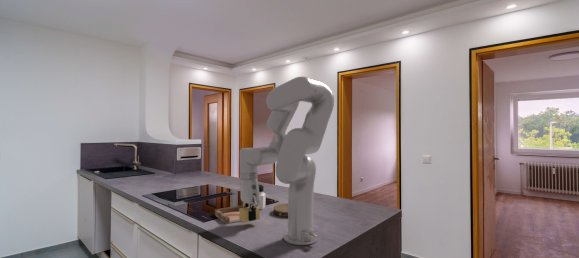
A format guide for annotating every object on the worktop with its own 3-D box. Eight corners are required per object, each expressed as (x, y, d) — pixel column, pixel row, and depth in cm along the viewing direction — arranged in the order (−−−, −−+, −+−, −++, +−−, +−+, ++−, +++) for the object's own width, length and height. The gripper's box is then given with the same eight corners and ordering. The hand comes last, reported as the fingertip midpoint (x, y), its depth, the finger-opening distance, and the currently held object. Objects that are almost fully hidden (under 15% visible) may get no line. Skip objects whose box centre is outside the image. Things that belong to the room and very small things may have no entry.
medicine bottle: (265, 206, 149) (265, 183, 149) (262, 209, 142) (263, 186, 142) (252, 205, 150) (252, 183, 150) (249, 209, 142) (249, 186, 143)
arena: (257, 218, 128) (257, 212, 128) (226, 224, 119) (226, 218, 119) (242, 209, 141) (242, 205, 141) (214, 214, 133) (214, 209, 133)
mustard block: (259, 219, 118) (259, 207, 118) (243, 222, 114) (243, 210, 114) (255, 217, 122) (255, 205, 122) (239, 220, 118) (239, 208, 118)
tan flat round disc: (311, 215, 134) (311, 209, 134) (283, 220, 126) (283, 213, 126) (294, 207, 147) (294, 201, 147) (268, 211, 139) (268, 205, 139)
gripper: (265, 177, 114) (266, 222, 113) (248, 173, 128) (249, 213, 127) (249, 179, 109) (250, 225, 109) (233, 175, 123) (233, 216, 123)
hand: (249, 218), depth 118 cm, fingers closed on mustard block, 4 cm apart
